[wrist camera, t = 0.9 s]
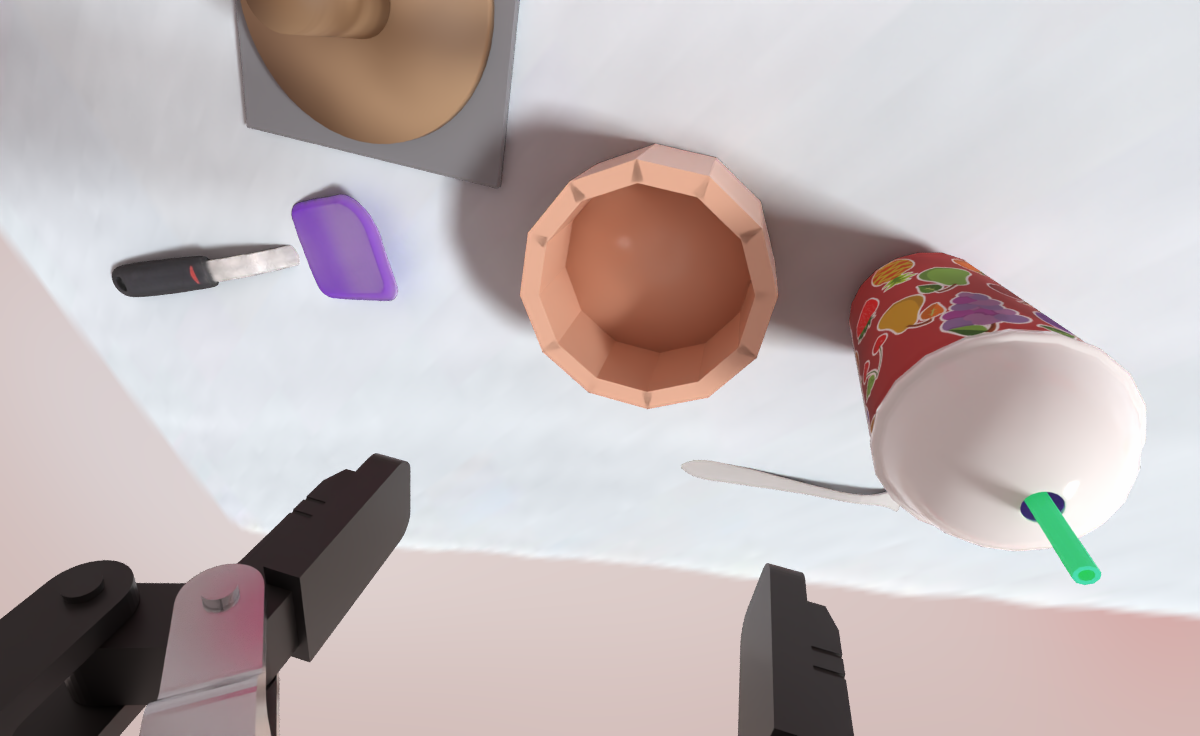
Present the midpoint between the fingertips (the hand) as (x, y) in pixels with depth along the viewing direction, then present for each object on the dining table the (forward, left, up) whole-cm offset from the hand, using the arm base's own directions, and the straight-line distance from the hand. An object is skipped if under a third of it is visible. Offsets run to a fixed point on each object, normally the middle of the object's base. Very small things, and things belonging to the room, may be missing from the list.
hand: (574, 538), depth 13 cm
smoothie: (0, +13, -25) cm, 28 cm away
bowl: (+1, -1, -24) cm, 24 cm away
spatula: (+8, -29, -25) cm, 39 cm away
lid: (-9, -19, -24) cm, 32 cm away
